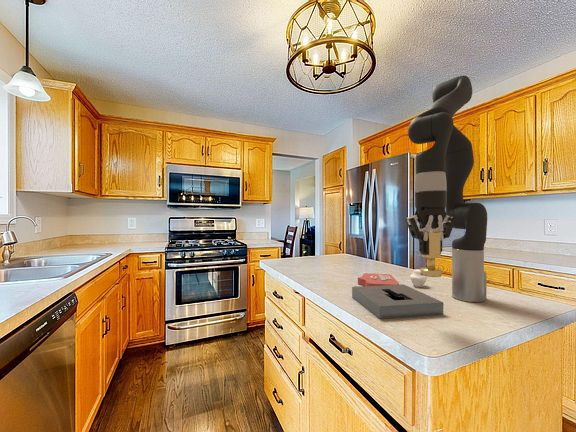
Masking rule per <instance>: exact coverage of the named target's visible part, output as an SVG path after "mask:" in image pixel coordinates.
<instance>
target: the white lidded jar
mask: <svg viewBox="0 0 576 432" xmlns="http://www.w3.org/2000/svg"><path fill="white" fill-rule="evenodd" d="M409 278H410V281H411V283H412V284H413V286H414V287H415V288H416V287H417V288H422V287H424V285H425V284H426V282H427V280H428V278H427V276H423V275H421V271H420V269H419V268H418V269H417V268H416V269H414V270H413V272H412V274H410V276H409Z"/></svg>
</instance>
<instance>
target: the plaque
mask: <svg viewBox="0 0 576 432" xmlns="http://www.w3.org/2000/svg"><path fill="white" fill-rule="evenodd" d="M357 285H359V286H361V287H362V286H382V285H400V282H398V280H396V279H395V277H394V276H393V275H392V274H390V273H372V272H371V273H368V272H367V273H362V276H358V277H357Z"/></svg>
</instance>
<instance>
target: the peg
mask: <svg viewBox="0 0 576 432" xmlns="http://www.w3.org/2000/svg"><path fill="white" fill-rule="evenodd" d="M427 241H428V255H422V254H421V253H420V254H421V257H422V258H426V266H425V267H420V269H419V270H420V271H421V275H423V276H426V277H429V278H440V277H442V275H443V274H442V269H440V268H437V267H436V259H441V254H440V233H438V232H432V231H430V232H429V233H428V240H427Z"/></svg>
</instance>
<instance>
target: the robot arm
mask: <svg viewBox="0 0 576 432" xmlns="http://www.w3.org/2000/svg"><path fill="white" fill-rule="evenodd" d="M431 95H432V104H431V105H430V106H429V107H428V109H427V110H426V111H424V112H422V113H420V114H419V115H417V116H415V117H414V118H413V119H412V120H411V121H410V124H409V126H408V127H407V128H408V129H407V136H408V139H409V141H411V142H412V143H413V144H415V145H422V144H427V143H433V145H432V146H431V147H430V148H428V149H426V150H425V149H424V150H423V151H420V152H418V153H417V154H416V157H415V178H414V207H415V209H416V210H415V212H414V215H412V216H409V217H406V218H405V220H404V221H405V223H406V225H407V228H408V230H409V233H410V235H411V237H412V238H413V239H416V240H418V245H419V246H418V251H419V253H420V254H422V255H428V241H427V240H428V233H429V232H438V233H440V255H442V252H443V241H444V240H445V239H446V238H447V239H449V238H450V237H451V234H452V231H453V229H456V230H457V229H458V230H465V232H464V235H463V236H461V237H459V238H455V239H453V240H452V242H451V296H452V298H453V299H456V300H459V301H463V302H469V303H482V302H484V301H487V287H488V286H487V272H486V271H485V243H486V241H487V232H488V231H487V228H488V211H487V208H486V207H485V205H484V204H482V203H480V202H464V189H465V184H466V182H467V180H468V179H469V176H470V174H471V172H472V170H473V168H474V164H475V158H474V150H473V144H472V142H471V141H470V139H469V138H468V136H466V135H465V134H464V133H463V132H462V131H461V130H460V129H458V128H457V126H456V125H455V124H454V119H453V118H454V115H455V114H456V113H457V112H459V110H460V109H462V108H463V107H464V106H465V105H466V104H468V103H469V102H470V101H471V100H472V97H473V85H472V81H471V79H470V77H469V76H467V75H458V76H456V77H453V78H450V79H448V80H445V81H443V82H441V83H437V84H436V85H434V86H433V88H432V94H431Z"/></svg>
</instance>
